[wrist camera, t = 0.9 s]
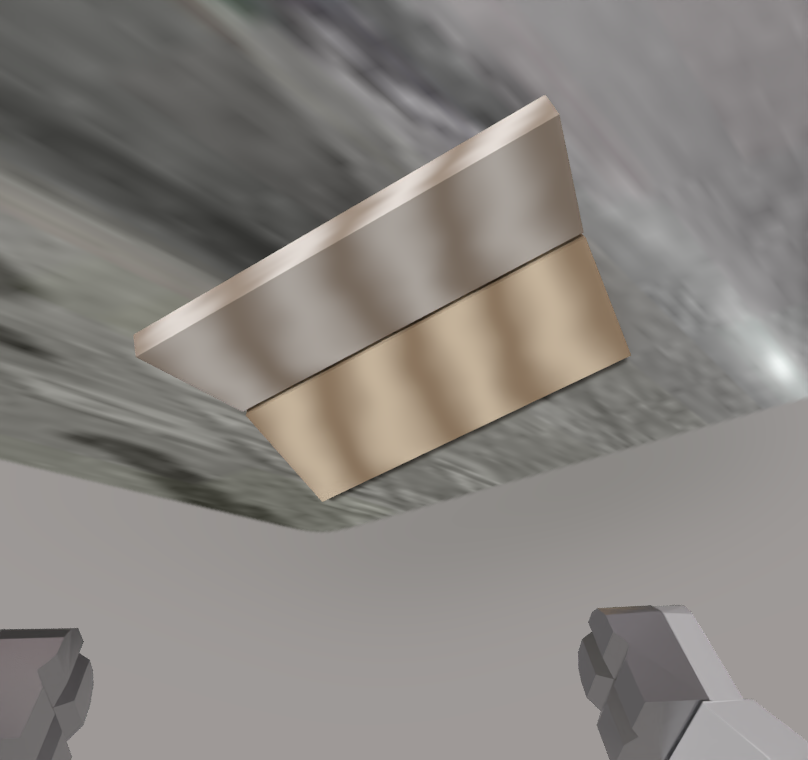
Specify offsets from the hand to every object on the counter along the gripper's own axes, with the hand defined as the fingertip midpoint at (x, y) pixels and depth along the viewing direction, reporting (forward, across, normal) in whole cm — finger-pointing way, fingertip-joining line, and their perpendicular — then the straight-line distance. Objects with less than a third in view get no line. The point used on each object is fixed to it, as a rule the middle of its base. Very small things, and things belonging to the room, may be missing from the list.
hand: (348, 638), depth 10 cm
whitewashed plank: (+28, -1, +5) cm, 29 cm away
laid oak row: (+31, -7, +14) cm, 35 cm away
